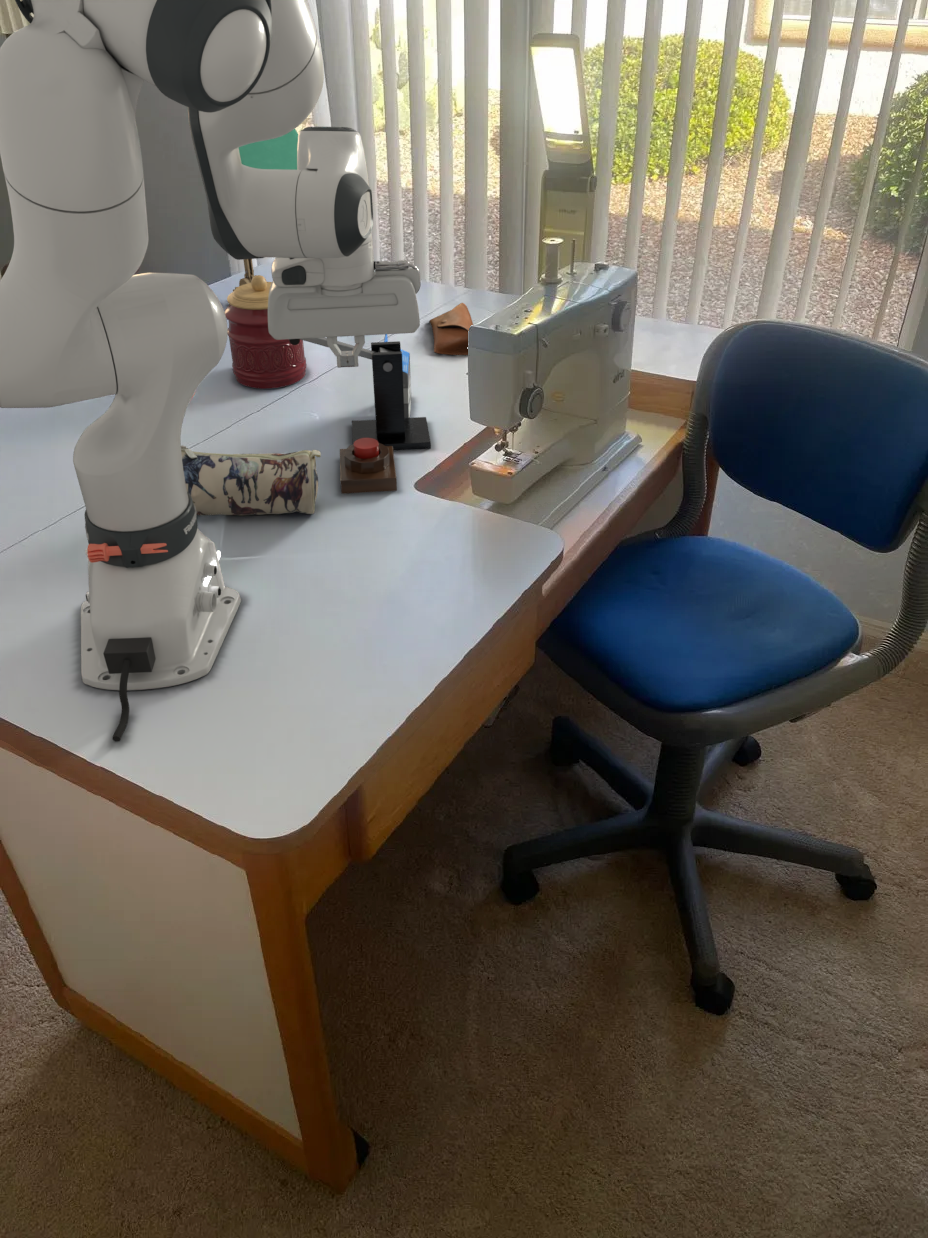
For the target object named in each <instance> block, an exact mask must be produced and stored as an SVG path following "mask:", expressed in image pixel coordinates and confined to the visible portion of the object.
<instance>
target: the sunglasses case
mask: <svg viewBox="0 0 928 1238" xmlns="http://www.w3.org/2000/svg"><path fill="white" fill-rule="evenodd" d="M428 322H429V325H430V326H431V330H432V336H433V353H435V354H437V355H443V356H469V355H468V349H467V347H468V331H469V328H470V326H471V325H473V326H474V322H473V319H472V315H471V313H470V311H469V308H468V306H467V305H466V304H465V303H464V302H460V303H459V304H457V305H456V306H454V307H453V308H452V309H450V310H447V311H446V312H444V313H442V314H440V315H437V316H436V317H435V316H434V317H433V318H431V319H430V320H429V321H428Z"/></svg>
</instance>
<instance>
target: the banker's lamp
mask: <svg viewBox="0 0 928 1238" xmlns="http://www.w3.org/2000/svg"><path fill="white" fill-rule="evenodd" d="M298 134H299V132H298V131H297V130H296V128H295V129H294V130H292V131H291V132H289V133H287V134H285V135H283V136H281V137H278V138H274V139H269V140H264V141H259V142H254V143H250V144H247V145H244V146H241V147H239V153H240V158H241V163H242V164H243V165H245V166H248V167H252V168H257V169H281V170H297V143H298ZM242 261H243V267H244V275H243V276H244V277H243V278H240V279H239V282H238V286H235V287H234V289H232V292H233V291H235V289H236V288H237V287H239V286H241V285H244V284H247V283H251V281H252V278H253V277H254V276H256V275H257V274H256V275H255V269H254V264H253V263H254V262H253V259H243V260H242ZM229 305H230V304H229V303H228V306H229Z"/></svg>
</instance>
